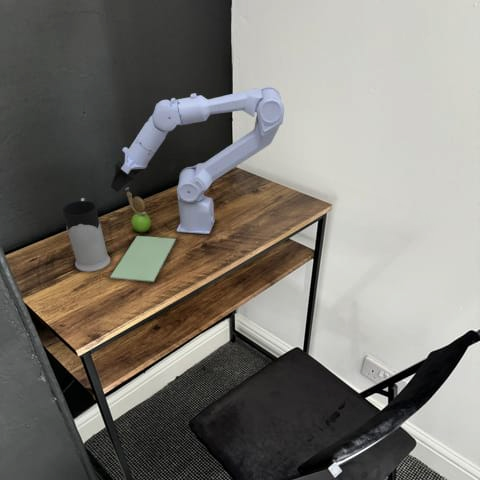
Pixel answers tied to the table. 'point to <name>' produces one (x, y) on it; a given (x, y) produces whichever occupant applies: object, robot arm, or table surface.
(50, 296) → the table surface
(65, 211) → the glass holder
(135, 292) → the table surface
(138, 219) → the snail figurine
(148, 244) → the desk pad
